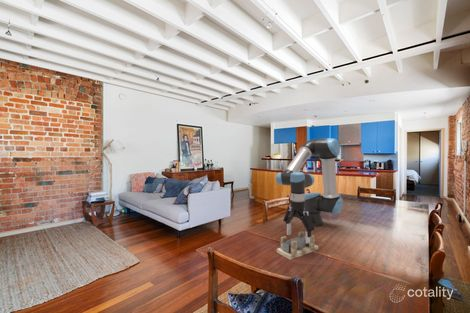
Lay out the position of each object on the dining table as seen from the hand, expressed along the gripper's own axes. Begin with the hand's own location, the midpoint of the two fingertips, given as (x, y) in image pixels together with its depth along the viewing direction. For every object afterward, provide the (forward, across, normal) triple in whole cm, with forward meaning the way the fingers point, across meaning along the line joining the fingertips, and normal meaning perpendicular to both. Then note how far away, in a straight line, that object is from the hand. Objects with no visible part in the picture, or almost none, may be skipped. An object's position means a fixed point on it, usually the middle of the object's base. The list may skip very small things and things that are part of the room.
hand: (298, 238), depth 124 cm
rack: (+7, 0, -1) cm, 7 cm away
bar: (+5, 0, -1) cm, 5 cm away
